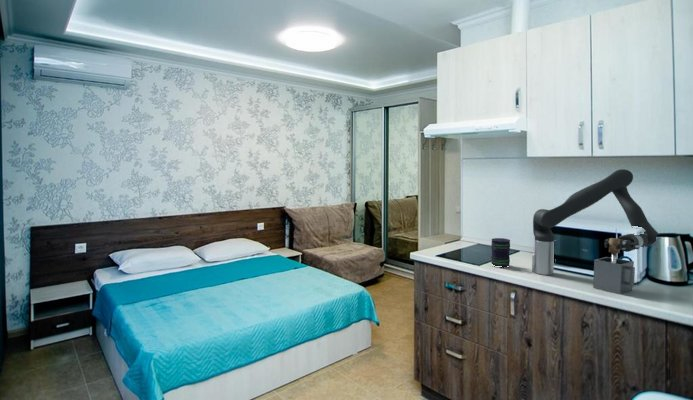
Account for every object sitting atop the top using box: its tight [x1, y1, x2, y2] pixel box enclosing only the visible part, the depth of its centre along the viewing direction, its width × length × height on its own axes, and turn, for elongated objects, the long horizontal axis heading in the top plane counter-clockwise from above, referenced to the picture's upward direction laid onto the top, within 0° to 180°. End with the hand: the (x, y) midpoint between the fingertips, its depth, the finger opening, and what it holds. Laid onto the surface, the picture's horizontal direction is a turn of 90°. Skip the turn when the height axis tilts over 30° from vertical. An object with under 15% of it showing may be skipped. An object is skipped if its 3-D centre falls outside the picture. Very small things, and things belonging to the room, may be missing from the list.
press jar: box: [592, 256, 636, 295], centre depth 175 cm, size 14×11×13 cm
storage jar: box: [490, 237, 511, 267], centre depth 220 cm, size 10×10×15 cm
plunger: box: [608, 237, 621, 263], centre depth 176 cm, size 9×9×22 cm
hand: (611, 246), depth 174 cm, fingers closed on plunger, 4 cm apart
